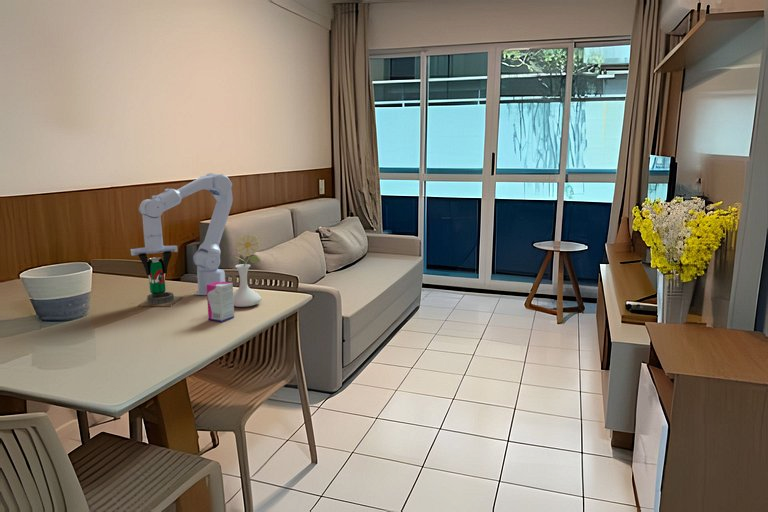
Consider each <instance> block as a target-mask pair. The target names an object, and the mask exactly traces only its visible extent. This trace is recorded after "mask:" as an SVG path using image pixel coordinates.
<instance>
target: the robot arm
mask: <svg viewBox="0 0 768 512" xmlns="http://www.w3.org/2000/svg"><path fill="white" fill-rule="evenodd" d="M232 187H233V182H232V181H231V180H230V178H229V177H228V176H227V174H223V173H221V174H218V173H217V174H216V173H212V172H211V173H207V174H206V175H202V176H199V177H198V178H197V179H194V180H193V181H191V182H188V183H187V184H185V185H183V186H181V187H180V188H177V189H174V188H165V189H164V191H162V192H161V193H159V194H157V195H151V198H149V199H148V198H147V199H144V200H142V201H141V202H140V204H139V207H138V211H139V213H140V214H141V215H142V227H143V228H142V229H143V230H142V231H143V241H144V247H137V248H130V255H131V256H133V257H135V256H137V257H138V258H139V260H140V261H141V263H142V265H143V268H144V270H145V275H146V276H148V275H149V270H148V255H149V254H150V255H151V254H160V253H162V260H163V264H164V275H166V274H167V273H168V267H169V262H170V260H171V259H172V253H178V249H179V248H178V245H164V240H163V227H162V217H161V216H162V215H163V212H166V211H168V210H170V209H171V208H174V207H176V206H177V205H178V206H179V205H180V204H181V202H182V200H183V198H186V197H188V196H190V195H193V194H194V193H197V192H199V191H201V190H205V191H206V190H207V191H208V192H209V193H210V194H211V195H212V196H213V198H214V199H215V201H216V202H215V206H214V209H213V212H212V215H211V218H210V222H209V224H208V228H207V231H206V235H205V238H204V240H203V242H202V243H201V244H200V245H199V246H198V249H197V250H196V252H194V254H193V256H192V257H193V259H192V260H193V263H194V264H195V266H196V267H197V268H196V276H197V288H198V289H197V290H198V291H196V292H195V293H194V296H207V284H211V283H215V282H218V281H221V282H226V273H225V270H224V269H220V268H219V266H220V265H221V254H222V253H221V248H220V243H221V239H222V237H223V234H224V232H225V231H224V230H225V228H226V224H227V221H228V218H229V214H230V211H231V208H232V205H233V201H234V199H233V198H234V197H233V189H232ZM148 277H149V276H148Z"/></svg>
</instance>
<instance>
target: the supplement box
mask: <svg viewBox="0 0 768 512" xmlns="http://www.w3.org/2000/svg"><path fill="white" fill-rule="evenodd" d="M233 287H234V285H233V282H227V281H225V282H221V281H218V282H215V283H211V284H207V295H206V297H207V300H206V301H207V317H208V318H207V319H208V321H213V322H218V323H224V322H227V321H229V320H232V319H234V318H235V309H234V308H235V306H234V303H233V293H234V288H233Z"/></svg>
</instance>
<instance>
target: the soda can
mask: <svg viewBox="0 0 768 512" xmlns="http://www.w3.org/2000/svg"><path fill="white" fill-rule="evenodd" d="M147 260H148V270H149V275H148V285H149V292H150V294H161V293H164V292H167V289H166V278H165V275H166V274H165V273H164V264H163V257H148V258H147Z"/></svg>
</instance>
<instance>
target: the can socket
mask: <svg viewBox="0 0 768 512" xmlns="http://www.w3.org/2000/svg"><path fill="white" fill-rule="evenodd" d="M183 297H184V296H181V295H180V296H179V295H178V296H175V294H174V293H173V292H169V291H165V292H164V293H161V294H152V293H150V294H148V295H147V296H146V298H147V299H145V300H144V301H141V302H140V303H138V304H137V307H142V306H147V307H148V308H149V307H150V306H171V305H172V306H173V304H174V303H175V304H176V303H177V301H178V300H179V301H181V300H182V299H183ZM181 298H182V299H181ZM179 301H178V302H179ZM175 304H174V305H175ZM172 306H171V307H172Z"/></svg>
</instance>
